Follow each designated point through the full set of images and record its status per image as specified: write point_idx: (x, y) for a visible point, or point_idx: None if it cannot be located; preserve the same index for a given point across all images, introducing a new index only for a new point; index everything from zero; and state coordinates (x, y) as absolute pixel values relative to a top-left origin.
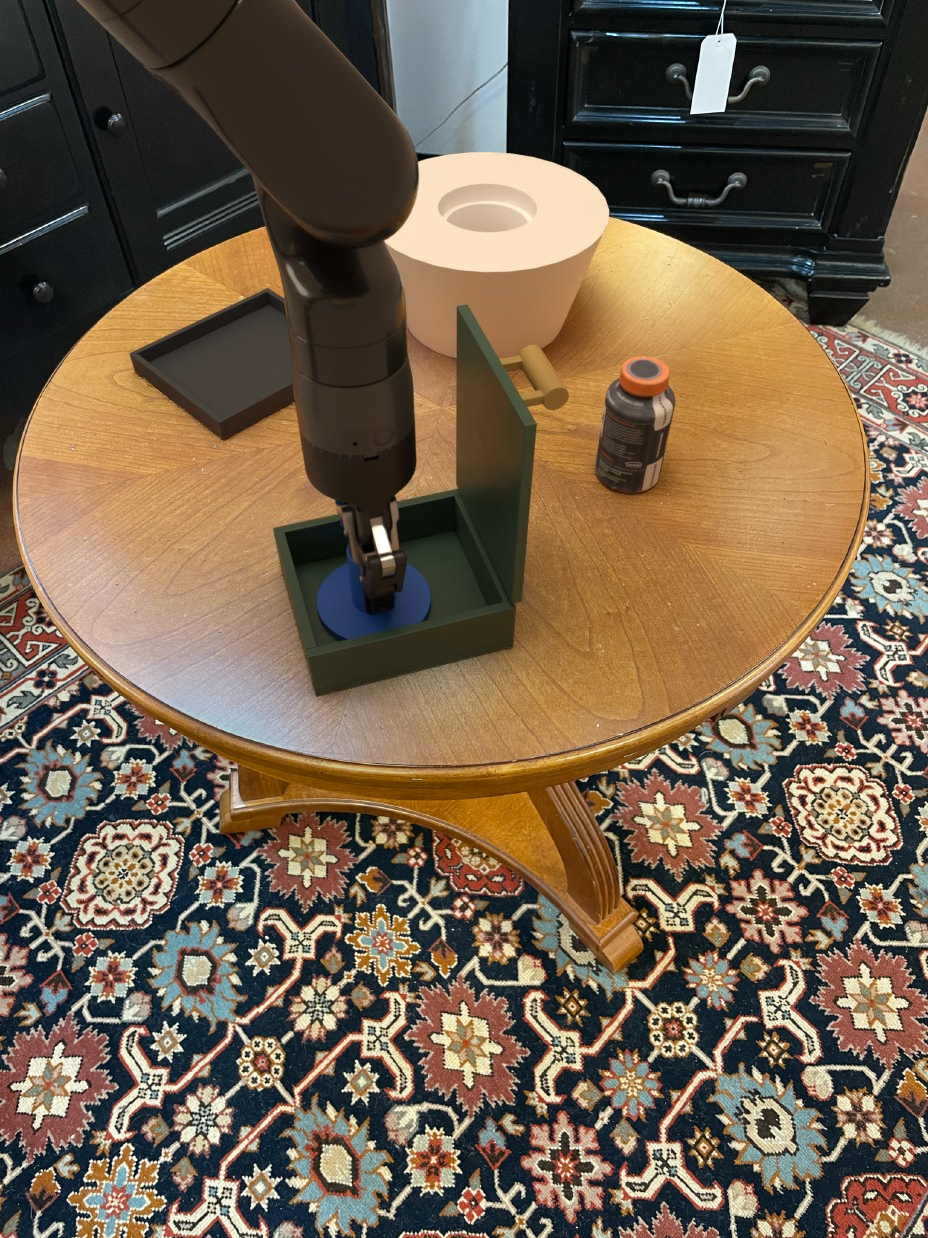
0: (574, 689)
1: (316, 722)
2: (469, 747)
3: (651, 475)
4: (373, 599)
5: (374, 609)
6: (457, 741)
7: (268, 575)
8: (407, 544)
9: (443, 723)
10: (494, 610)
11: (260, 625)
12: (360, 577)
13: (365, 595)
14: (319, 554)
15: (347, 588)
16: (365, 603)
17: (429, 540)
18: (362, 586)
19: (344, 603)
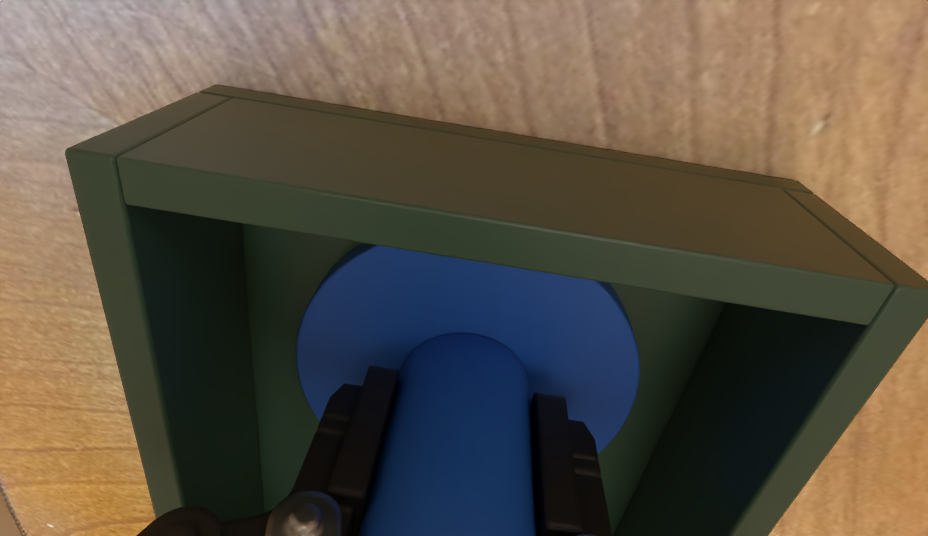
0: (133, 533)
1: (115, 46)
2: (7, 351)
3: None
4: (310, 450)
5: (324, 410)
6: (24, 338)
7: (805, 129)
8: (620, 492)
9: (77, 334)
10: None
11: (596, 12)
12: (297, 531)
13: (345, 435)
14: (733, 324)
15: (538, 340)
16: (357, 401)
17: None
18: (368, 455)
19: (483, 312)
